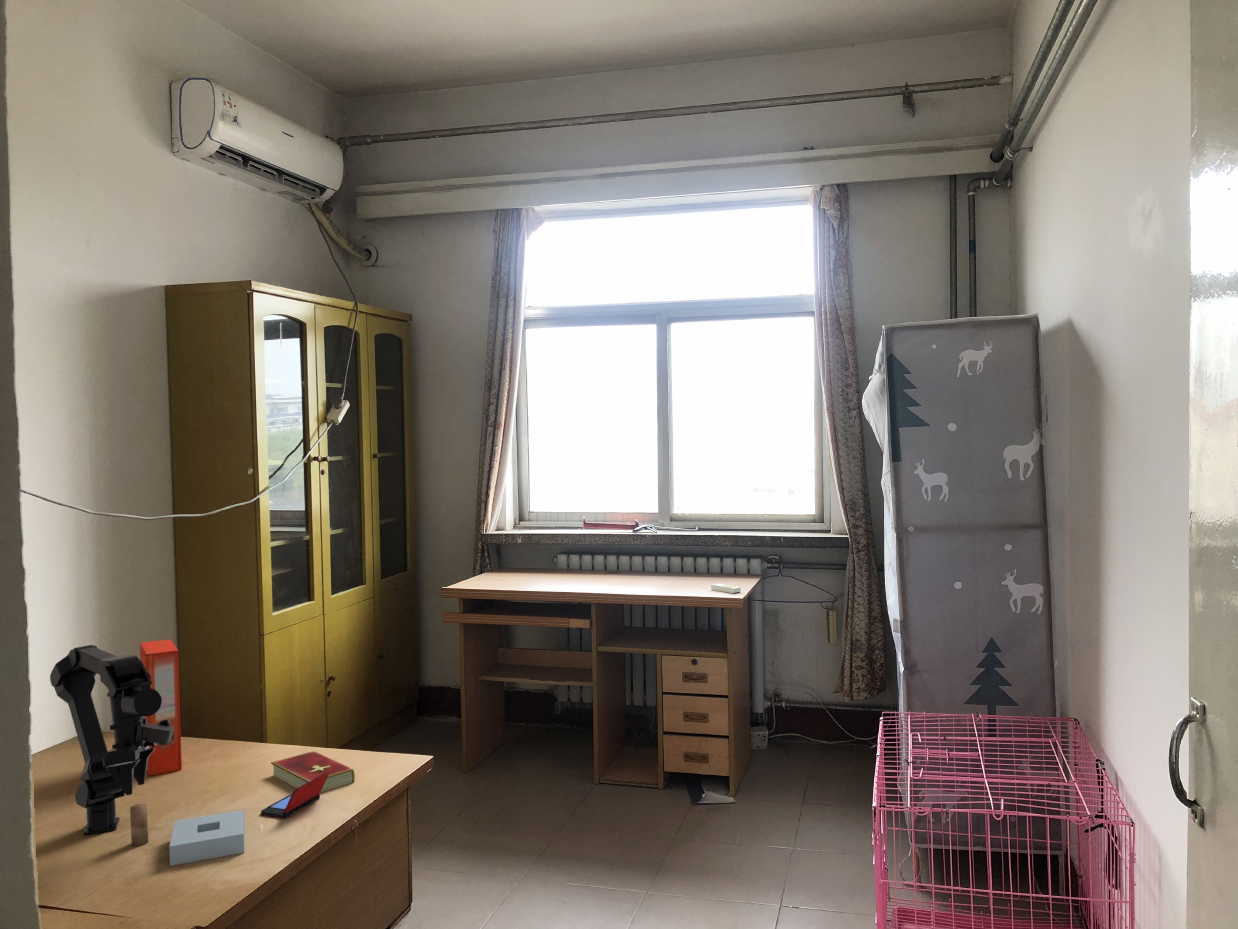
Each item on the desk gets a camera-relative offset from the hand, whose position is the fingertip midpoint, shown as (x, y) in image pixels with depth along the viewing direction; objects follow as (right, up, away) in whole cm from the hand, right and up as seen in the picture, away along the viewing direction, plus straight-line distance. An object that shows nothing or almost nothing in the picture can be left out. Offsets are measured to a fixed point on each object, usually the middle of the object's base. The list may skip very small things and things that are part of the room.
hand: (135, 789), depth 196 cm
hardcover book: (+25, -11, +38) cm, 47 cm away
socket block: (+16, -12, 0) cm, 20 cm away
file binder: (-20, -12, +52) cm, 57 cm away
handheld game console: (+28, -12, +19) cm, 36 cm away
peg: (0, -12, +2) cm, 12 cm away
